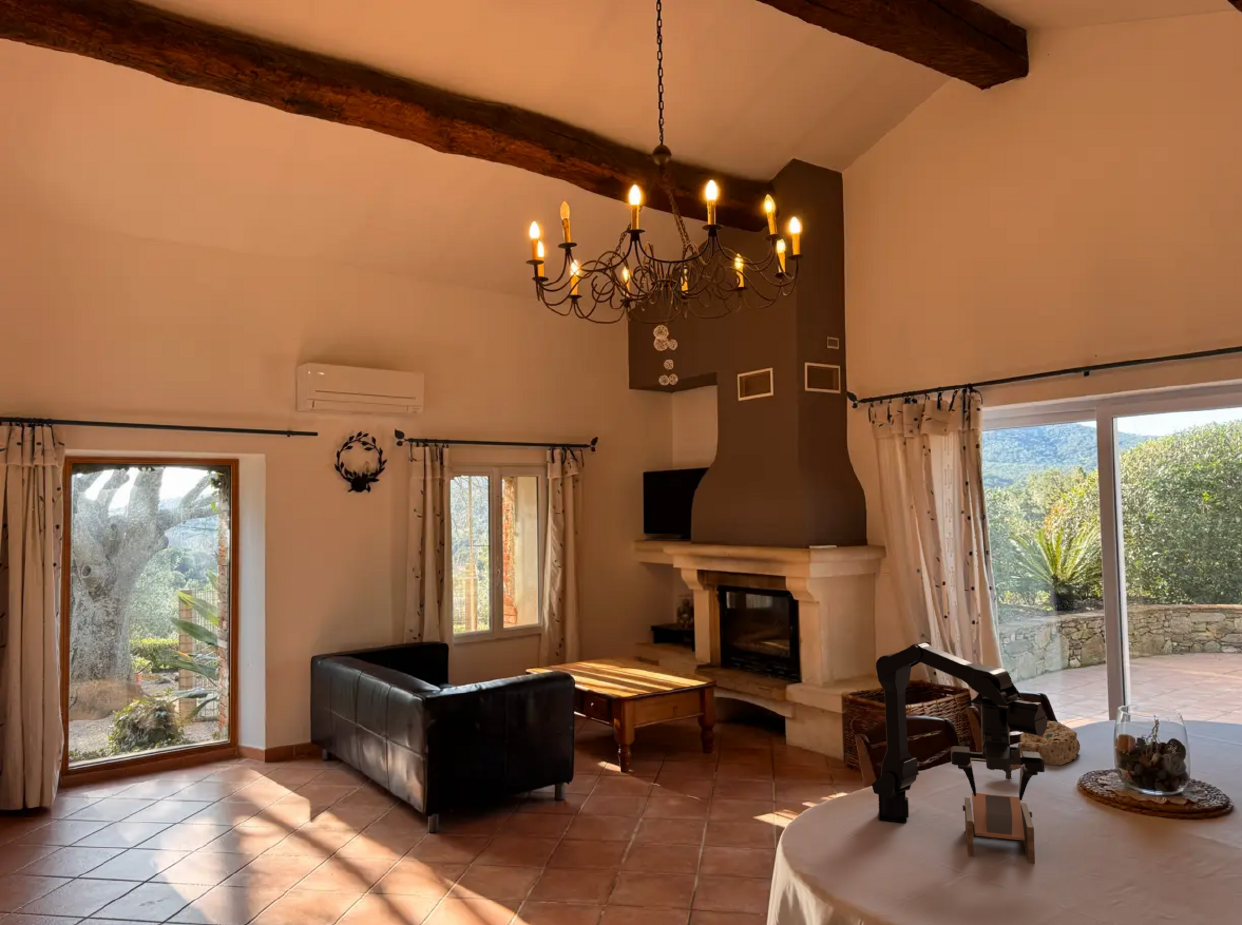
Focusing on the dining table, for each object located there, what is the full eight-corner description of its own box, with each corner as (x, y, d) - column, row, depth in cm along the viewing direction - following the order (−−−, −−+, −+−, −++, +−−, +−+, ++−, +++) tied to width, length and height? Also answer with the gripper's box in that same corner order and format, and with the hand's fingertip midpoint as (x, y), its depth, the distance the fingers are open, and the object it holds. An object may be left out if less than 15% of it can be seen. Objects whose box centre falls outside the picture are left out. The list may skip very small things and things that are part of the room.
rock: (1070, 772, 244) (1059, 737, 246) (1019, 773, 254) (1008, 739, 255) (1091, 747, 259) (1080, 714, 261) (1041, 749, 269) (1031, 718, 270)
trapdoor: (974, 848, 193) (974, 832, 190) (972, 808, 202) (972, 792, 200) (1024, 854, 189) (1024, 837, 187) (1019, 812, 199) (1019, 797, 196)
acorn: (1027, 777, 238) (1026, 740, 238) (1024, 786, 231) (1022, 748, 231) (995, 773, 242) (993, 737, 242) (990, 781, 235) (989, 744, 235)
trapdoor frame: (965, 855, 188) (964, 820, 189) (962, 829, 203) (961, 797, 203) (1038, 864, 184) (1036, 827, 184) (1030, 836, 198) (1029, 803, 198)
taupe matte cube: (985, 813, 194) (985, 794, 191) (1009, 815, 193) (1009, 797, 190) (986, 832, 190) (987, 813, 187) (1011, 834, 188) (1012, 815, 186)
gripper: (951, 733, 187) (953, 806, 187) (1046, 740, 181) (1049, 815, 180) (949, 720, 198) (952, 789, 197) (1040, 726, 191) (1042, 797, 191)
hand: (997, 797), depth 191 cm, fingers open, 9 cm apart
